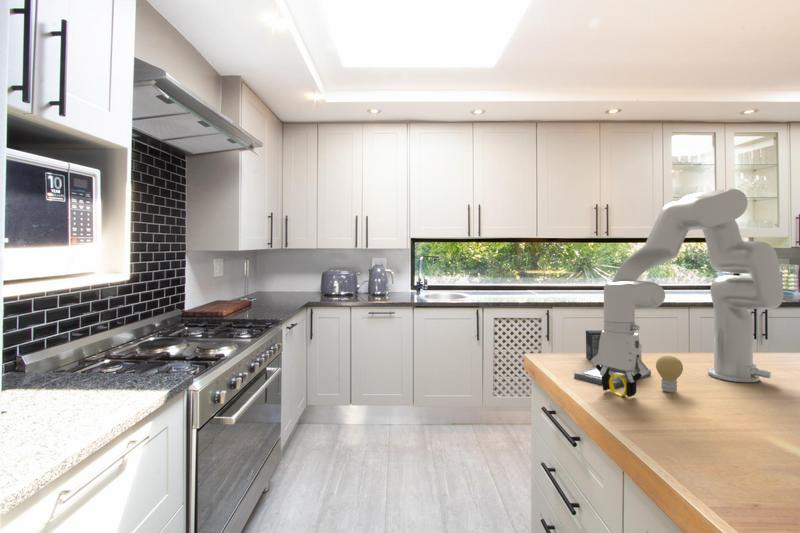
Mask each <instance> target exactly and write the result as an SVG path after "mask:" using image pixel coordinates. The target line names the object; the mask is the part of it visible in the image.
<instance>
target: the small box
mask: <svg viewBox="0 0 800 533" xmlns="http://www.w3.org/2000/svg"><path fill="white" fill-rule="evenodd" d="M603 330H604V329H603ZM603 330H599V329H597V330H590V329H589V330H587V329H586V330H585V358H586V359H588V360H589V361H590V360H591V359H592V358H593V357H595V356H596V355H597V354H598V350H599V341H600V336H601V332H602V331H603Z"/></svg>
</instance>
